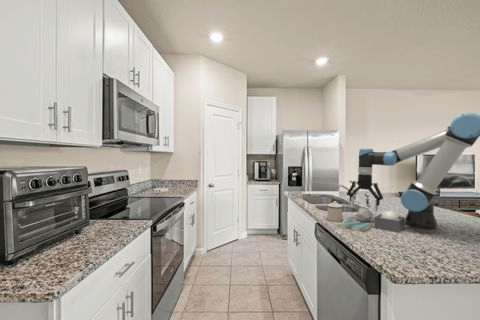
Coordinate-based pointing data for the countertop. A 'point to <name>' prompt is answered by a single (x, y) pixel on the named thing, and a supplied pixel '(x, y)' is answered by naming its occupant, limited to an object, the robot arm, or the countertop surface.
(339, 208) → the teacup with lid
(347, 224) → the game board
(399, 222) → the dark grey open box
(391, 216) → the dome
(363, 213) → the grey rock
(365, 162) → the robot arm
